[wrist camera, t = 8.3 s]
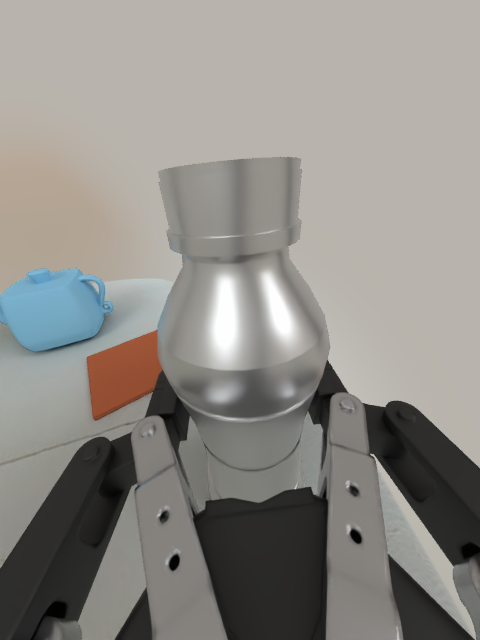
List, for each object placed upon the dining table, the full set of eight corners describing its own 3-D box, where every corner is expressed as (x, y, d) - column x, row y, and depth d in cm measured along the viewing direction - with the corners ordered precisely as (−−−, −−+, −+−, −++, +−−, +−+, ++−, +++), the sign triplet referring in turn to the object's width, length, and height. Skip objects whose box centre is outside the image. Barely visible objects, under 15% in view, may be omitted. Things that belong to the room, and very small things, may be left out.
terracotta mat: (178, 324, 38) (177, 322, 37) (209, 362, 29) (208, 359, 29) (88, 360, 31) (86, 357, 31) (95, 420, 23) (92, 417, 22)
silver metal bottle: (279, 579, 12) (350, 110, 2) (194, 503, 16) (31, 182, 5) (312, 471, 17) (390, 154, 6) (241, 429, 20) (209, 176, 9)
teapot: (18, 330, 40) (-28, 272, 34) (121, 306, 45) (98, 252, 39) (-18, 374, 30) (-92, 305, 24) (118, 337, 36) (87, 272, 29)
